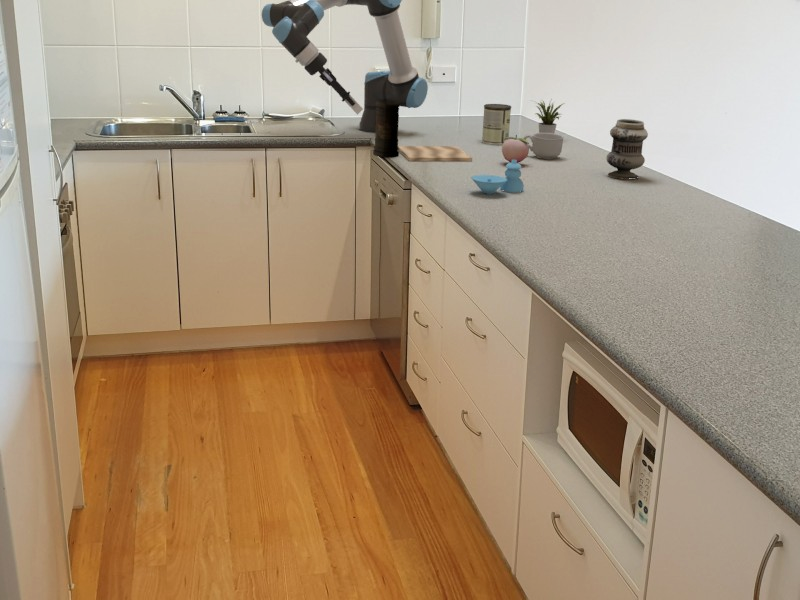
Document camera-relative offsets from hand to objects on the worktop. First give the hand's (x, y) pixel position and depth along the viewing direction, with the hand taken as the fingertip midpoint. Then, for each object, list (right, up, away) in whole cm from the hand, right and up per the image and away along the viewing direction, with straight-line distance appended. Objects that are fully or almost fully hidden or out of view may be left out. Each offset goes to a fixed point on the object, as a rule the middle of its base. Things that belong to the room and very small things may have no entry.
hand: (359, 111), depth 308 cm
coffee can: (+50, -4, +40) cm, 64 cm away
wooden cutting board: (+25, -13, +10) cm, 30 cm away
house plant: (+70, -1, +52) cm, 87 cm away
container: (+9, -14, +7) cm, 18 cm away
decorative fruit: (+52, -18, 0) cm, 55 cm away
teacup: (+64, -13, +15) cm, 67 cm away
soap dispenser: (+42, -33, -42) cm, 68 cm away
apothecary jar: (+86, -24, -13) cm, 90 cm away
